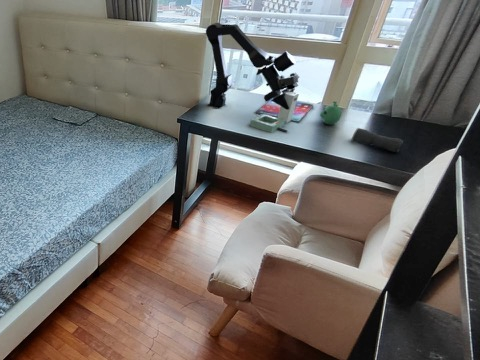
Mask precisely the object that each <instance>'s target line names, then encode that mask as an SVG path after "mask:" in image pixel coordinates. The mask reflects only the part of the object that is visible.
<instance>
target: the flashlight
mask: <svg viewBox="0 0 480 360" xmlns="http://www.w3.org/2000/svg"><path fill="white" fill-rule="evenodd" d="M351 142H355V143H358V144H364V145H368V146H370V145H372V146H375V147H379V148H380V149H384V150H387V151H388V152H391V153H398V152H399V151H400V150H401V149H402V147H403V143H404V140H402V139H401V138H397V137H389V136H384V135H380V134H376V132H373V131H369V130H367V129H364V128H360V127H357V128H356V129H355V130H354V133H353V134H352V136H351Z"/></svg>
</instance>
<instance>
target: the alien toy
mask: <svg viewBox="0 0 480 360" xmlns="http://www.w3.org/2000/svg"><path fill="white" fill-rule="evenodd" d="M332 103H333V104H332V105H326V106H325V107H324V108H323V111H322V112H320V114H319V116H320V117H321V118H322V122H323V123H324V124H325V125H331V126H332V125H334V124H336V123H338V122H339V121H340V119H341V117H342V109H341V108H340V106H339V104H338V102H337V101H336V100H335V101H332Z"/></svg>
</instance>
